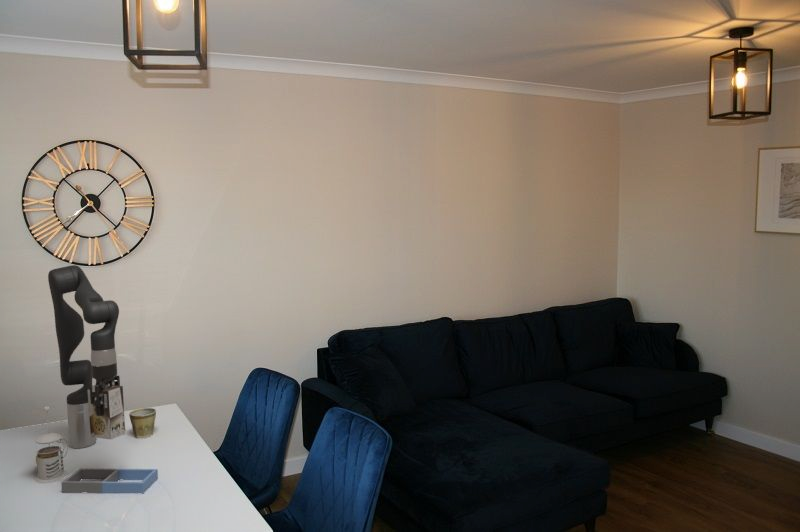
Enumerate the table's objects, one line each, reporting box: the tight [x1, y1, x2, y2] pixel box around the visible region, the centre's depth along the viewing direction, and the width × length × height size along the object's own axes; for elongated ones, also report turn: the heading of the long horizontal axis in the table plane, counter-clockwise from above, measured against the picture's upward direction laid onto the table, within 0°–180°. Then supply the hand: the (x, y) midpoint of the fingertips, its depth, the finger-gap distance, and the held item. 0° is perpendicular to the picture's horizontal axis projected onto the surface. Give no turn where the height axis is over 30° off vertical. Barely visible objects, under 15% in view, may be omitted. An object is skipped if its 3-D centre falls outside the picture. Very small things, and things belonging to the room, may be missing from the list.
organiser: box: [60, 467, 159, 495], centre depth 210 cm, size 11×27×4 cm, turn 87°
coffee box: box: [88, 385, 126, 440], centre depth 207 cm, size 9×6×16 cm
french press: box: [34, 405, 69, 484], centre depth 217 cm, size 10×12×25 cm
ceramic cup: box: [128, 407, 157, 439], centre depth 257 cm, size 13×10×10 cm
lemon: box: [35, 452, 52, 467], centre depth 223 cm, size 6×6×8 cm
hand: (106, 411), depth 207 cm, fingers closed on coffee box, 7 cm apart
